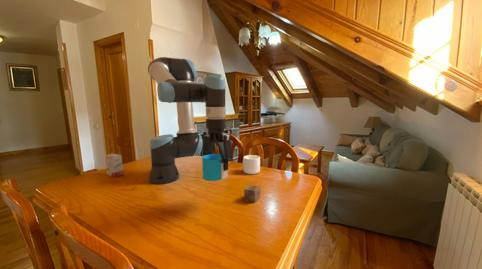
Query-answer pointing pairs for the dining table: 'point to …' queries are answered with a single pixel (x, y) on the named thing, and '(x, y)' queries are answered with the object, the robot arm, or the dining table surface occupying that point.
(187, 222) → the dining table surface
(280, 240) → the dining table surface
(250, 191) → the walnut cube
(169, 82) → the robot arm
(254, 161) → the mug
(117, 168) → the ink box
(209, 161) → the mug
